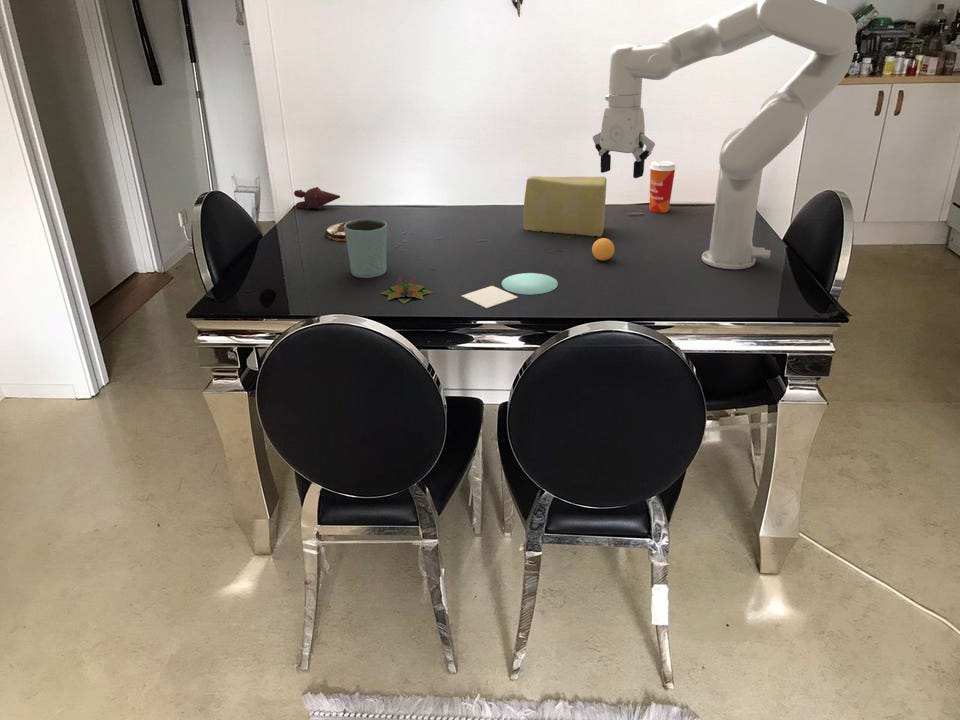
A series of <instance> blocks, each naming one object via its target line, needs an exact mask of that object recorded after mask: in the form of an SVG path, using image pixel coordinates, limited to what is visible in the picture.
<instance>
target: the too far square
mask: <svg viewBox="0 0 960 720" xmlns="http://www.w3.org/2000/svg"><path fill="white" fill-rule="evenodd" d="M461 297H462V298H464V299H466V300H468V301H471V303H474V304H477V305H479V306H481V307H483V308H485V309H488V308H491V307H494V306H498V305H500V304H503V303H507V302H510V301H512V300H515V299H518V298H519V297H518V296H517V295H514V294H512V293H511V292H509V291H507V290H506V291H505V290H503V289H501V288H499V287H496V286H494V285H490V286H487V287H484V288H481V289H478V290H474V291H471V292H468V293H466V294H463V295H461Z"/></svg>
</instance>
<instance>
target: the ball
mask: <svg viewBox="0 0 960 720" xmlns="http://www.w3.org/2000/svg"><path fill="white" fill-rule="evenodd" d="M591 252H592V255H593V256H594V258H595V259H597V260H598V261H603V262H604V261H607V260H610V259H611V258H612V257H613V256H614V253H615V245H614V243H613V241H612V240H610V239H609V238H606V237H605V238H604V237H600V238H598V239H597V240H596V241H595V242H593V244H592V247H591Z"/></svg>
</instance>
